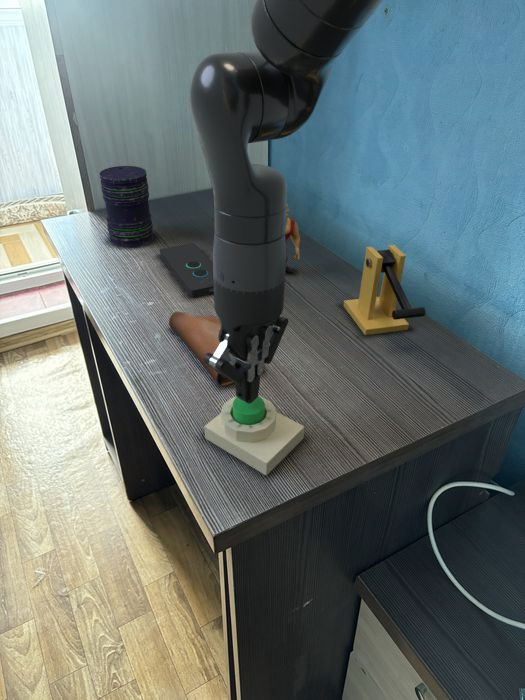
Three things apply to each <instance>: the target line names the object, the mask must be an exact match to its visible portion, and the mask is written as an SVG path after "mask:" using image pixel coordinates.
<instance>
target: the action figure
mask: <svg viewBox="0 0 525 700" xmlns="http://www.w3.org/2000/svg"><path fill="white" fill-rule="evenodd" d="M286 206H287V207H286V226H285V242H286V244H287V241H288V239H289V238H290V240H291V242H292V244H293V245H294V247H295V248H294V250H295V255H294V256H293V258H294V260H300V244H301V243H300V242H301V236H300V233H299V225H298V223H297V222H296V221H295V220H294V219H293V218H290V217H289V215H290V209H289V204H288V203H287V205H286ZM287 251H288V250H287V247H286V263H287V262H288V260H289V259H288V252H287ZM285 272H288V273H290V274H294V270H293V269H291V268H290V267H288V266H286V270H285Z"/></svg>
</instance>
